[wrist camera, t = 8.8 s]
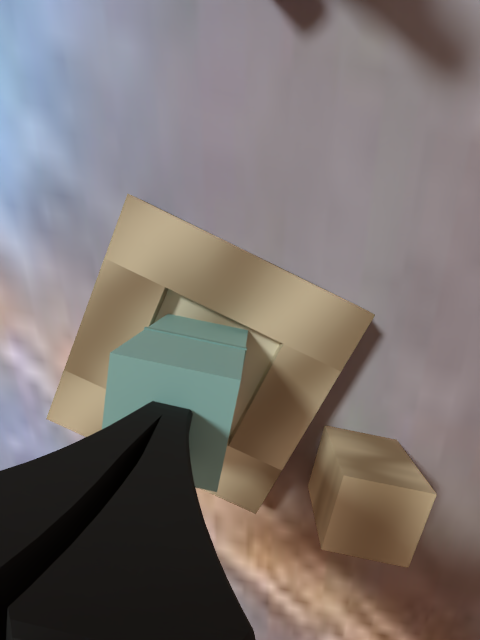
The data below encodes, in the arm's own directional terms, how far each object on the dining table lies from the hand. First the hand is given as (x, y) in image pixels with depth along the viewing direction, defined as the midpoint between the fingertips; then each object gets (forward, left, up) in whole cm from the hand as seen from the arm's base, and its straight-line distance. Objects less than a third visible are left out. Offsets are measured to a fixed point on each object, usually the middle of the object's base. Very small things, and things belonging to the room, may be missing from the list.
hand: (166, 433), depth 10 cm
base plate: (0, 0, -7) cm, 7 cm away
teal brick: (0, 0, -6) cm, 6 cm away
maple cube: (-10, +2, -7) cm, 12 cm away
